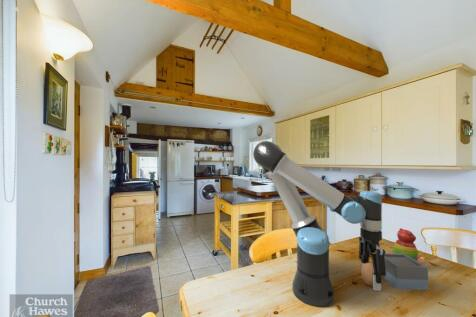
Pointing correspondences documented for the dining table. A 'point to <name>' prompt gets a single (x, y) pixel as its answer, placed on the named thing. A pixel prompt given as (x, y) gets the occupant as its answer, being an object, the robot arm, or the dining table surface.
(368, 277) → the egg
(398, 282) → the grey square tray
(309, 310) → the dining table surface
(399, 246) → the stacking bear
